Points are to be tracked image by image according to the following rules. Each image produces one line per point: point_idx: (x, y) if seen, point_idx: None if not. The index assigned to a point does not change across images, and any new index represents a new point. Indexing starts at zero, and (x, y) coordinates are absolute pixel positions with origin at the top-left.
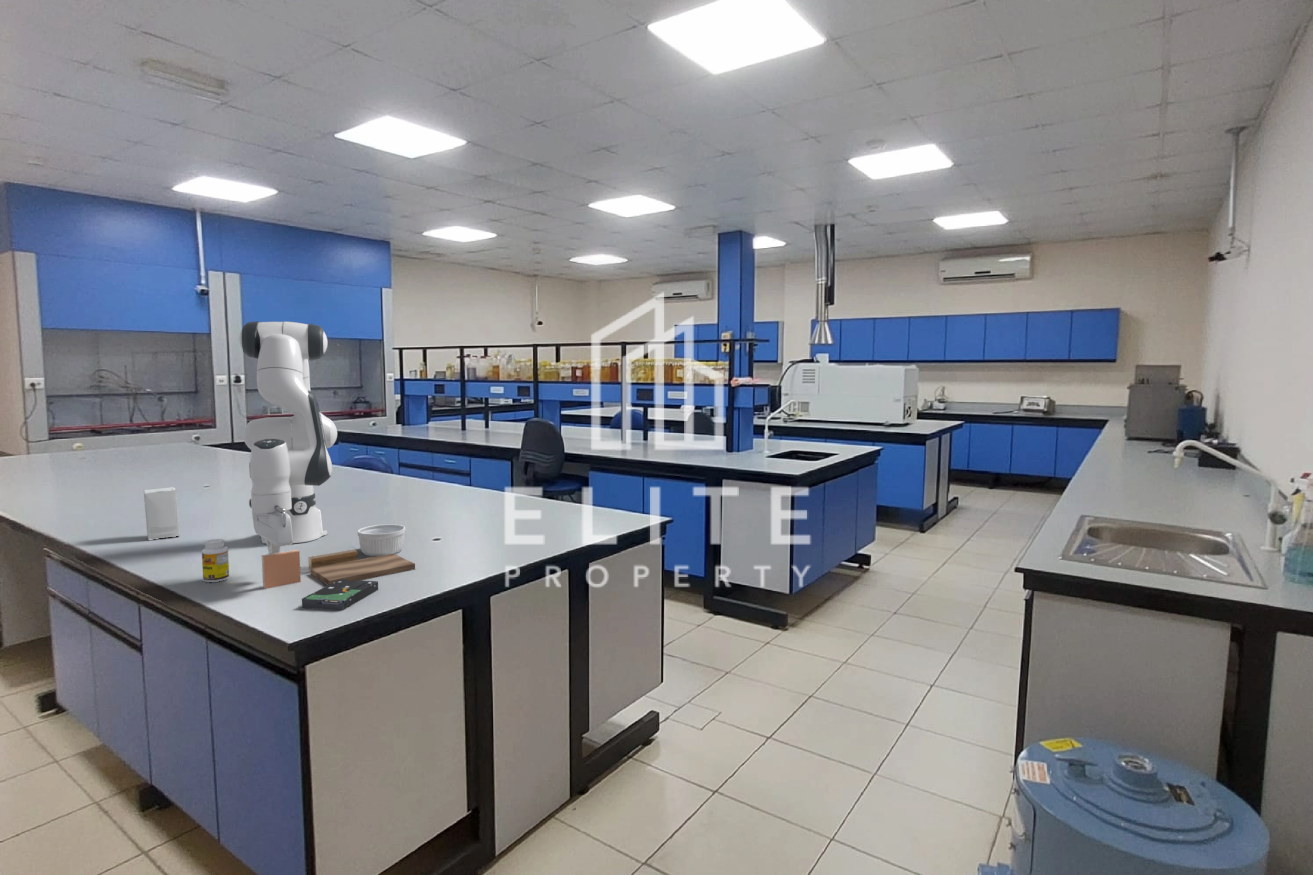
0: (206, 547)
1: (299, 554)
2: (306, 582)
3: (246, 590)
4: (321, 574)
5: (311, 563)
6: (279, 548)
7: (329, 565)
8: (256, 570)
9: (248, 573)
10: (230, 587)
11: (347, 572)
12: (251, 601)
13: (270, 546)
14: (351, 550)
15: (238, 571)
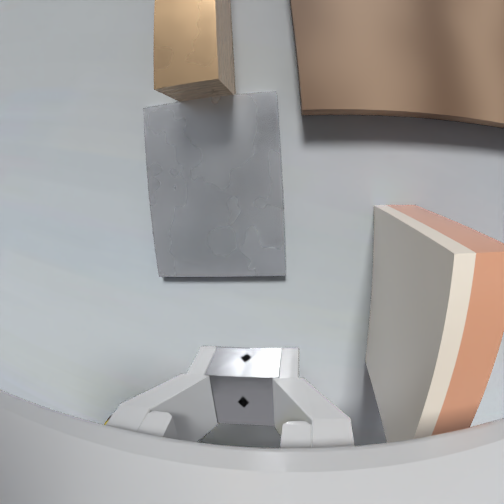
0: None
1: (500, 242)
2: (444, 186)
3: (365, 410)
4: (468, 111)
5: (226, 86)
6: (316, 392)
7: (298, 8)
8: (78, 312)
9: (107, 347)
10: (277, 437)
11: (491, 14)
12: (492, 402)
13: (195, 426)
14: None
15: (69, 359)
